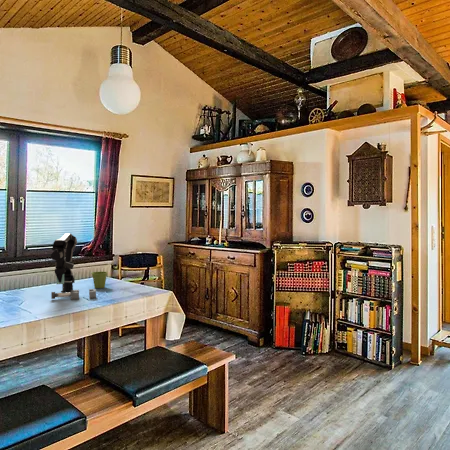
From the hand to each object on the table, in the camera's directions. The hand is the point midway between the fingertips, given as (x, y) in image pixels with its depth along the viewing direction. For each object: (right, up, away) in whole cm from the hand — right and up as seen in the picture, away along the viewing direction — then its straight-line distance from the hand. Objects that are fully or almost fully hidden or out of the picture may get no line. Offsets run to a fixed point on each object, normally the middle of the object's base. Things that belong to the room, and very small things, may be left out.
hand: (60, 281), depth 258 cm
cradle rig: (+16, -11, -2) cm, 19 cm away
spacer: (0, -1, 0) cm, 1 cm away
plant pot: (+16, -9, +32) cm, 37 cm away
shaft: (+6, -10, -6) cm, 13 cm away
